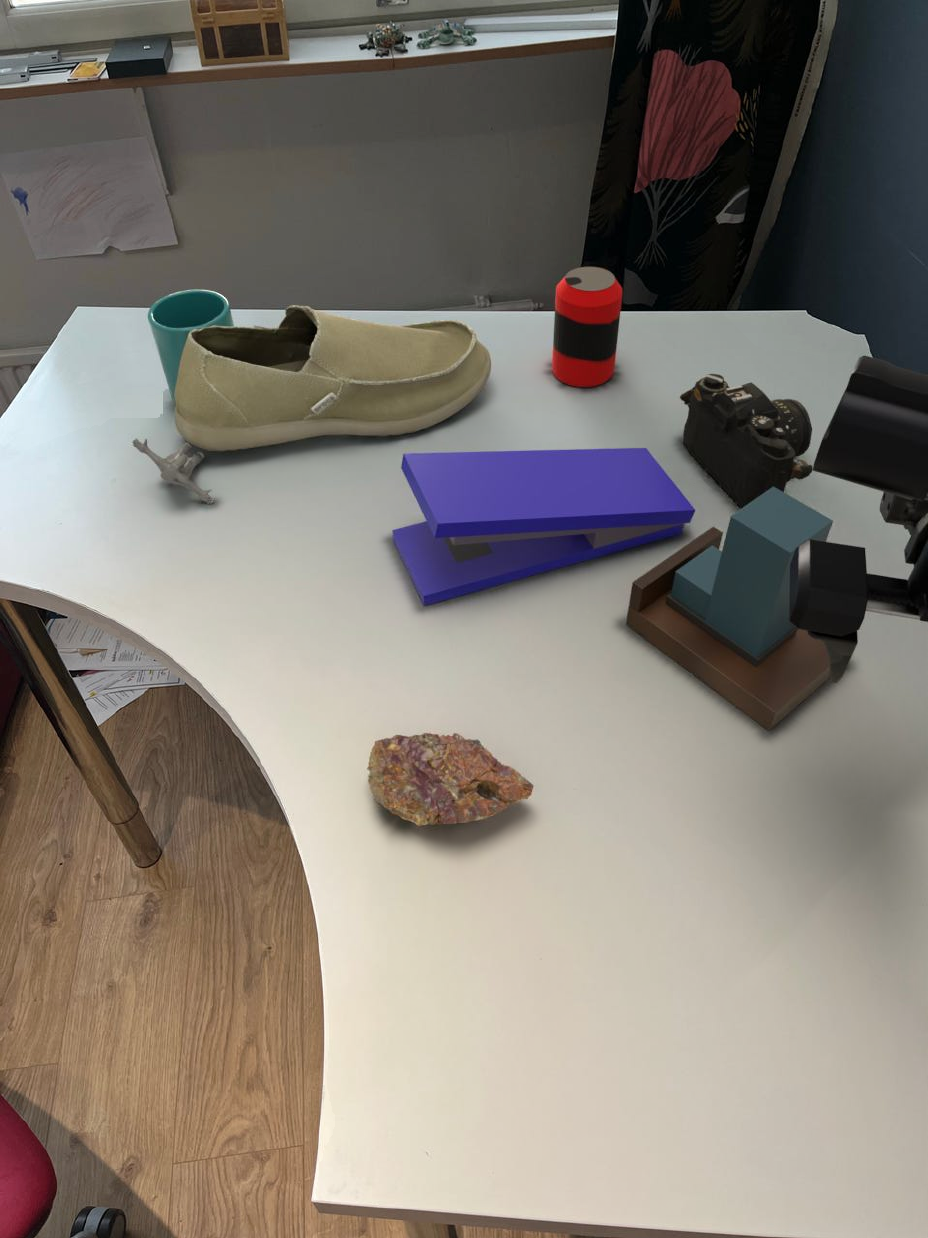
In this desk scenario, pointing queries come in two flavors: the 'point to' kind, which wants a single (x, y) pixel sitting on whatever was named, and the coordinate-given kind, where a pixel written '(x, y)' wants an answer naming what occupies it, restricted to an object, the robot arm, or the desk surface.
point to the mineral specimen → (441, 779)
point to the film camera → (746, 437)
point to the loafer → (323, 379)
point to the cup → (184, 324)
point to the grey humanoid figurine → (177, 467)
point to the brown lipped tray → (725, 647)
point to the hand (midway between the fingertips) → (903, 690)
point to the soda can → (586, 326)
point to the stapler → (529, 513)
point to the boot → (749, 576)
